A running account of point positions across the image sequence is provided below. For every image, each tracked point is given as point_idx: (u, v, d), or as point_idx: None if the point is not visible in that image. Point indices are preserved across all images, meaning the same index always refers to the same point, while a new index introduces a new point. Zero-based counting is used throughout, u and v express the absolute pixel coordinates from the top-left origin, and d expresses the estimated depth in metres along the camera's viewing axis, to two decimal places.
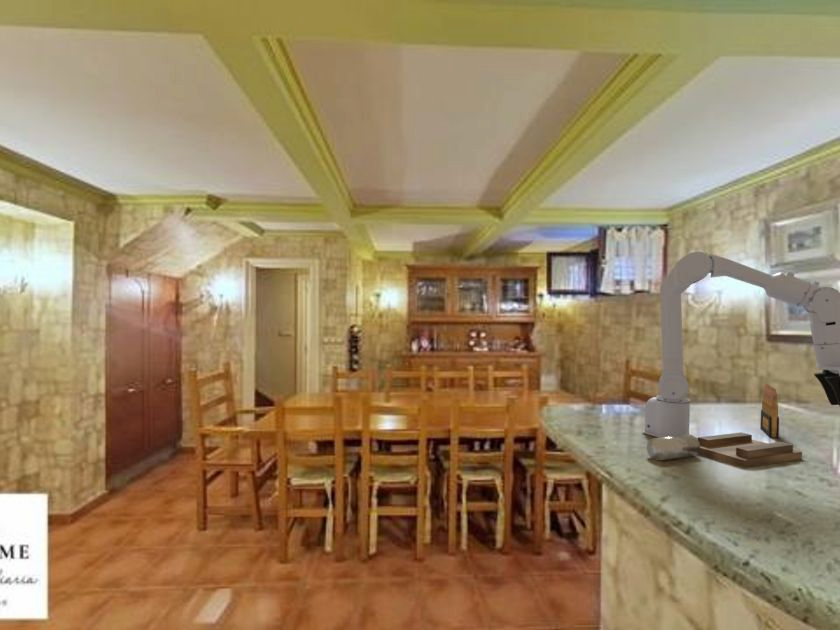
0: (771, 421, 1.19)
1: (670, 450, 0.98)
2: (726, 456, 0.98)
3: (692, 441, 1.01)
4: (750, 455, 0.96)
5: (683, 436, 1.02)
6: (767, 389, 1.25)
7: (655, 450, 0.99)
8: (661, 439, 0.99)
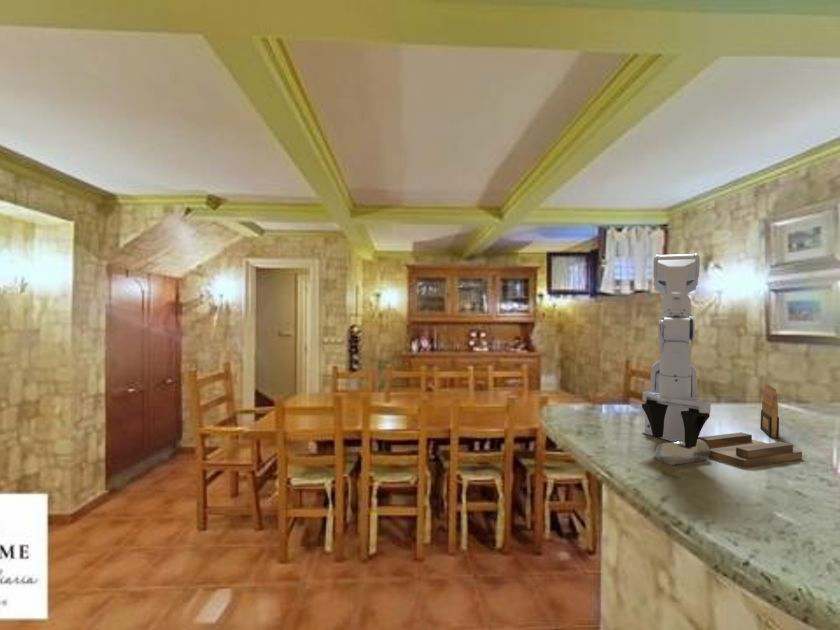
0: (771, 421, 1.19)
1: None
2: (726, 456, 0.98)
3: (700, 460, 0.99)
4: (750, 455, 0.96)
5: (700, 455, 0.98)
6: (767, 389, 1.25)
7: (663, 454, 0.97)
8: (677, 459, 0.95)
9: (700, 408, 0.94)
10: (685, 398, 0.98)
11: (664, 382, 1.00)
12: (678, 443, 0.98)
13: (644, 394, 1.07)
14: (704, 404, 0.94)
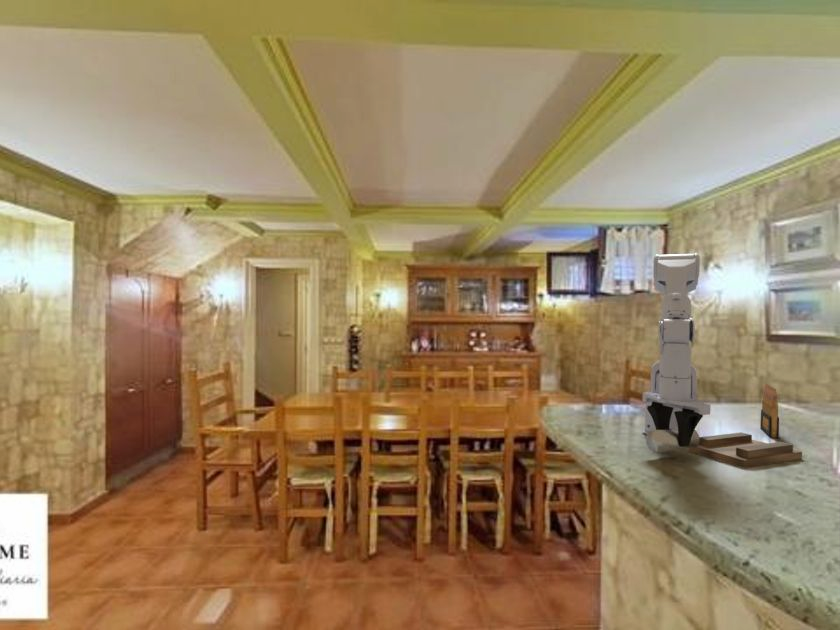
0: (771, 421, 1.19)
1: (667, 450, 0.98)
2: (726, 456, 0.98)
3: (693, 443, 1.00)
4: (750, 455, 0.96)
5: None
6: (767, 389, 1.25)
7: (654, 441, 0.99)
8: (666, 439, 0.98)
9: (700, 410, 0.94)
10: (685, 399, 0.98)
11: (664, 383, 1.00)
12: (663, 429, 1.01)
13: (644, 395, 1.07)
14: (704, 406, 0.94)
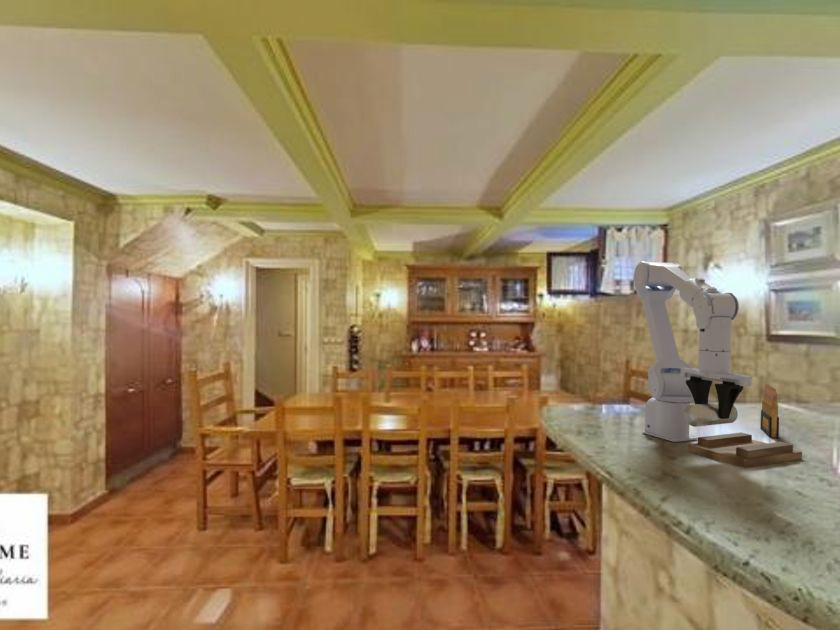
0: (771, 421, 1.19)
1: (706, 423, 0.99)
2: (726, 456, 0.98)
3: (731, 417, 1.01)
4: (750, 455, 0.96)
5: None
6: (767, 389, 1.25)
7: (692, 416, 1.00)
8: (705, 412, 0.99)
9: (741, 381, 0.96)
10: (725, 372, 0.99)
11: (704, 357, 1.01)
12: None
13: (682, 370, 1.08)
14: (745, 377, 0.95)
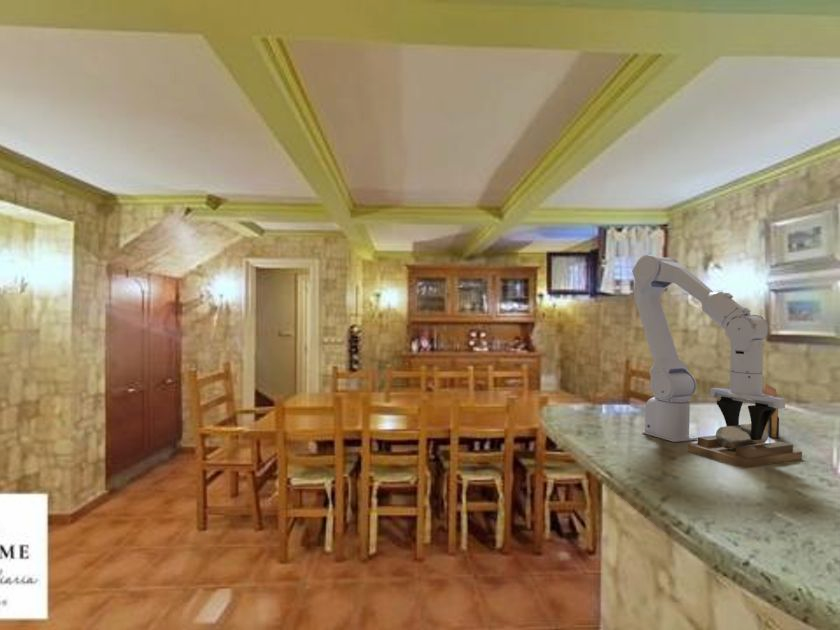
0: (771, 421, 1.19)
1: (739, 445, 1.00)
2: (726, 456, 0.98)
3: (762, 438, 1.03)
4: (750, 455, 0.96)
5: None
6: (767, 389, 1.25)
7: (725, 437, 1.01)
8: (738, 435, 1.00)
9: (775, 404, 0.97)
10: (758, 394, 1.01)
11: (736, 378, 1.02)
12: None
13: (712, 390, 1.09)
14: (779, 400, 0.97)
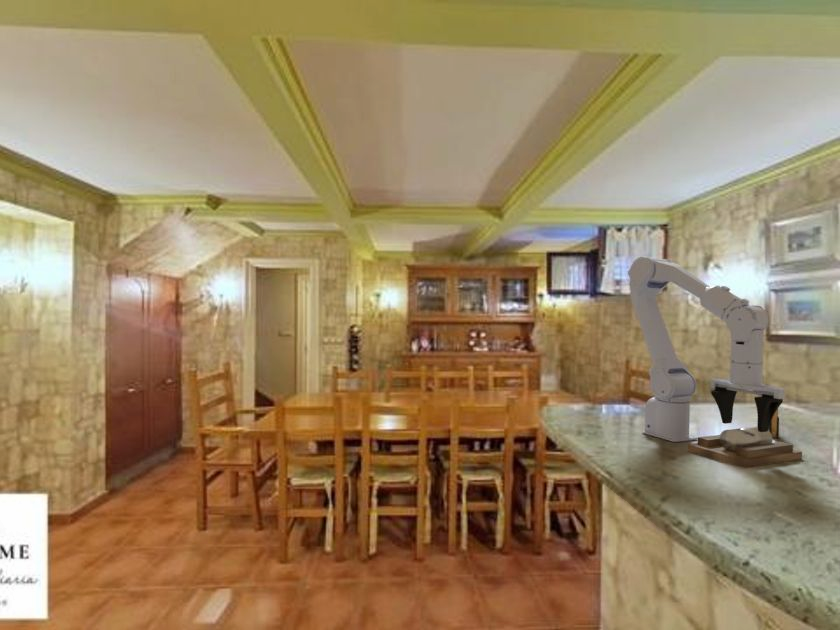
0: (771, 421, 1.19)
1: None
2: (726, 456, 0.98)
3: None
4: (750, 455, 0.96)
5: (763, 438, 1.01)
6: None
7: (728, 440, 1.01)
8: (743, 442, 0.99)
9: (775, 394, 0.97)
10: (758, 384, 1.01)
11: (736, 369, 1.02)
12: (740, 429, 1.02)
13: (712, 381, 1.09)
14: (779, 390, 0.97)
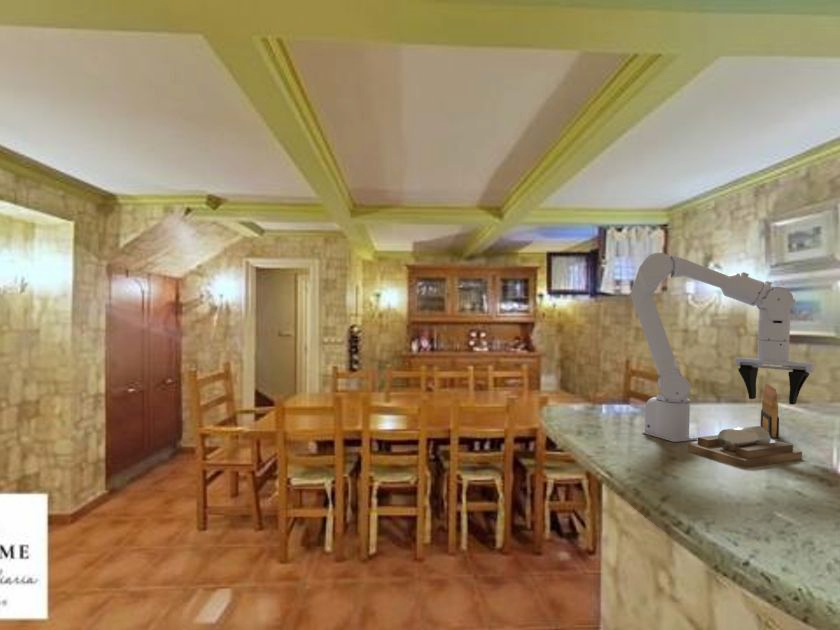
0: (771, 421, 1.19)
1: None
2: (726, 456, 0.98)
3: (764, 443, 1.02)
4: (750, 455, 0.96)
5: (761, 436, 1.02)
6: (767, 389, 1.25)
7: (727, 440, 1.01)
8: (741, 440, 0.99)
9: (808, 368, 1.04)
10: (787, 360, 1.07)
11: (768, 346, 1.08)
12: (736, 428, 1.02)
13: (737, 359, 1.15)
14: (812, 364, 1.04)
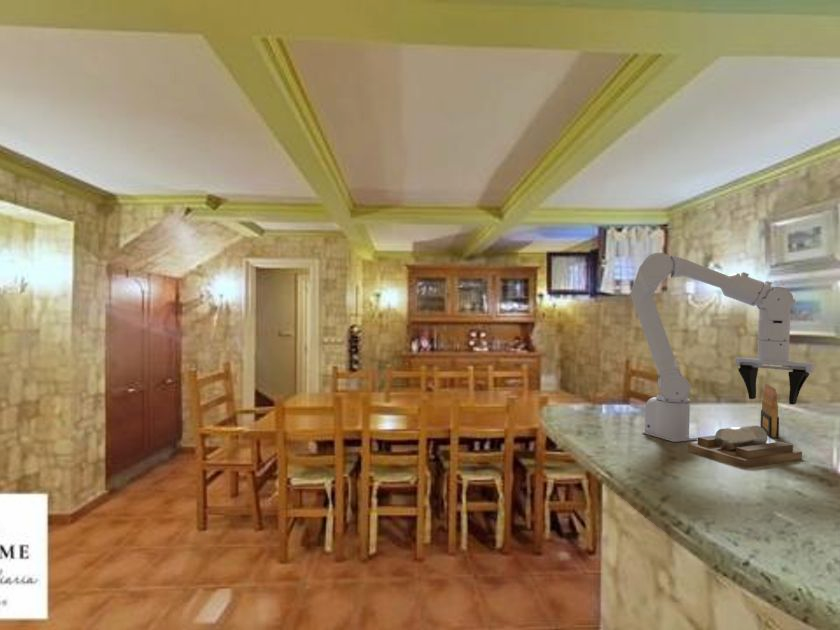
0: (771, 421, 1.19)
1: None
2: (726, 456, 0.98)
3: (762, 440, 1.03)
4: (750, 455, 0.96)
5: (757, 432, 1.03)
6: (767, 389, 1.25)
7: (724, 440, 1.02)
8: (737, 436, 1.00)
9: (808, 368, 1.04)
10: (787, 360, 1.07)
11: (768, 346, 1.08)
12: None
13: (737, 359, 1.15)
14: (812, 364, 1.04)
